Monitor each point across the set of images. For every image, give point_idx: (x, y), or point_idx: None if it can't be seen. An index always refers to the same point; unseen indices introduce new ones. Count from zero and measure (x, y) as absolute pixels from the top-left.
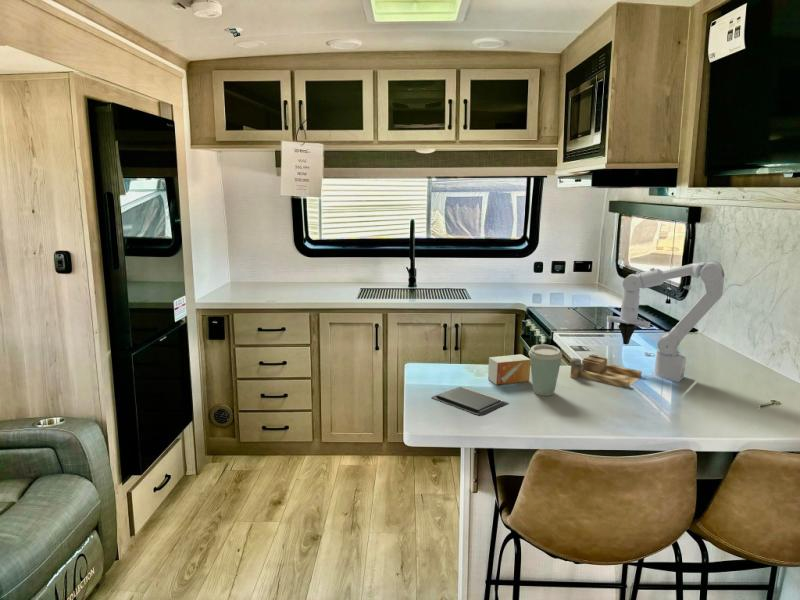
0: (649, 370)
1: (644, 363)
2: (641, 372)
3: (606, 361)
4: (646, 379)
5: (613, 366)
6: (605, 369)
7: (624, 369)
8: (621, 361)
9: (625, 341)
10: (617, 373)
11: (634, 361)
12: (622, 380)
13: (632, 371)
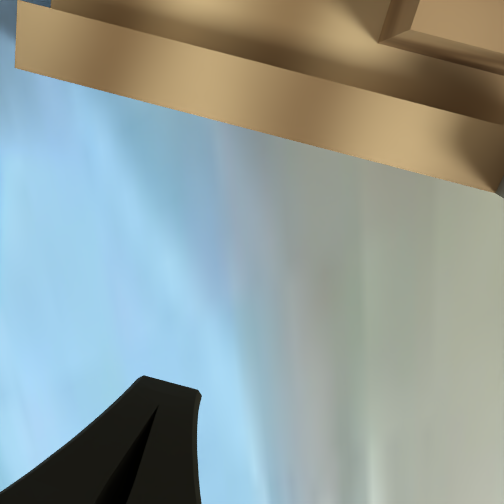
0: (45, 321)
1: None
2: (21, 61)
3: (412, 2)
4: (8, 61)
5: (309, 90)
6: (393, 10)
7: (185, 44)
8: (264, 444)
9: (150, 407)
10: (262, 53)
11: None
12: None
13: (99, 22)
